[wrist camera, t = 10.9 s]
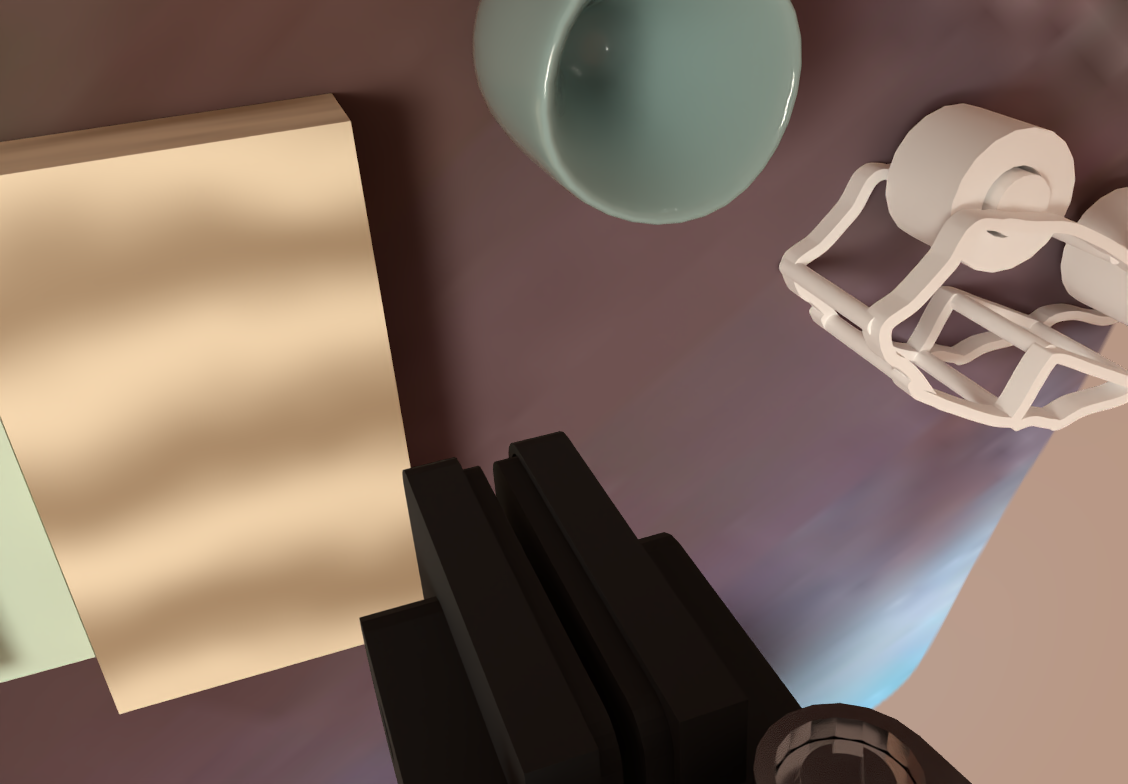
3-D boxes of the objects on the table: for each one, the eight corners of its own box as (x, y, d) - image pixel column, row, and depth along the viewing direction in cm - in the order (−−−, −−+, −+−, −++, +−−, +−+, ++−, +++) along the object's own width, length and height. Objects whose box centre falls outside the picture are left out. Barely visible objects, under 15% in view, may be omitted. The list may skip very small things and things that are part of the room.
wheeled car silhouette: (1174, 206, 50) (1316, 258, 44) (1053, 403, 53) (1169, 476, 47) (874, 59, 41) (1001, 99, 35) (752, 309, 44) (848, 385, 38)
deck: (-65, 151, 31) (-91, 189, 28) (331, 93, 34) (350, 120, 31) (122, 643, 41) (119, 714, 38) (416, 563, 44) (437, 622, 41)
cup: (422, 115, 36) (504, 200, 27) (479, -127, 33) (590, -113, 24) (619, 161, 39) (746, 250, 31) (687, -54, 36) (847, -21, 28)
